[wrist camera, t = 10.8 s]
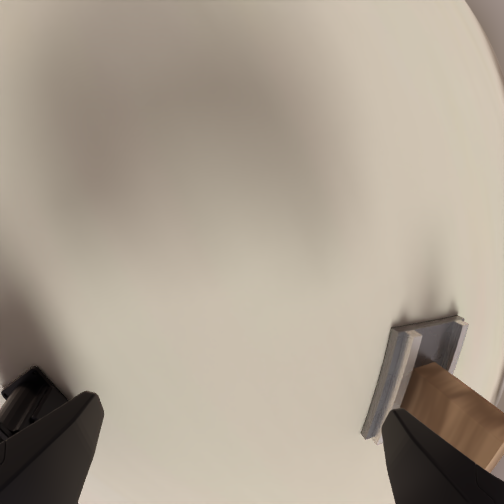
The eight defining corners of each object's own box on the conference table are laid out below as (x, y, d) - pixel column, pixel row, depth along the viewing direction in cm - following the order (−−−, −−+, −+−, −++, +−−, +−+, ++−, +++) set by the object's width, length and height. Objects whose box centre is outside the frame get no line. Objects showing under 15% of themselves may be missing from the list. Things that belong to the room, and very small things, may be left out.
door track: (425, 411, 26) (436, 421, 23) (360, 433, 24) (370, 447, 22) (457, 315, 23) (472, 323, 21) (391, 327, 22) (407, 338, 20)
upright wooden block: (395, 418, 23) (465, 494, 12) (412, 368, 22) (502, 443, 10) (421, 408, 24) (490, 474, 12) (438, 360, 23) (524, 423, 11)
